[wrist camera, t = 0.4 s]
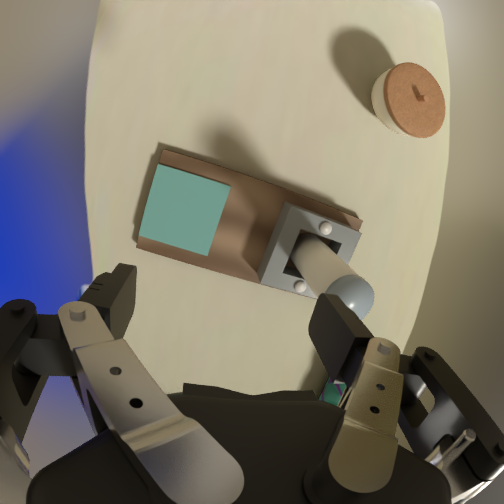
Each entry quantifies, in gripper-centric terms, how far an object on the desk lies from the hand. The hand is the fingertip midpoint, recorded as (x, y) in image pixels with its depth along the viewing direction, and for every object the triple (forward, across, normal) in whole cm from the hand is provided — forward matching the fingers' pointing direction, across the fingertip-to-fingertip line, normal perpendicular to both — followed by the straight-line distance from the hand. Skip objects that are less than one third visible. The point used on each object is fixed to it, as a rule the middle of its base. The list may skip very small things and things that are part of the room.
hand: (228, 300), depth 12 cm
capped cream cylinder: (+28, +14, -5) cm, 31 cm away
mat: (+28, -4, -3) cm, 28 cm away
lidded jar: (+29, +22, +20) cm, 42 cm away
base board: (+29, +6, -4) cm, 30 cm away
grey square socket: (+28, +14, -5) cm, 31 cm away
